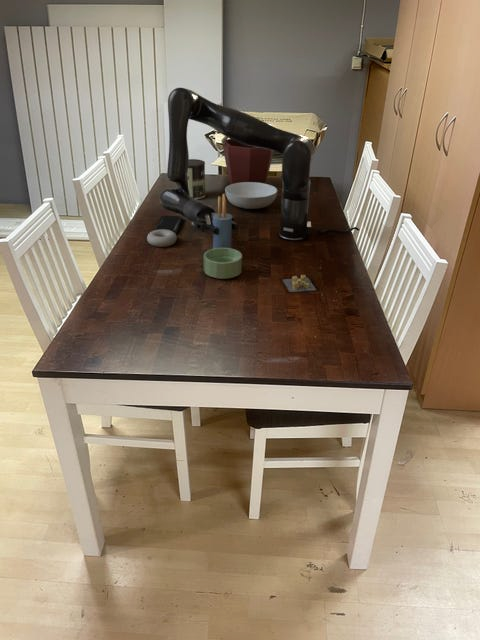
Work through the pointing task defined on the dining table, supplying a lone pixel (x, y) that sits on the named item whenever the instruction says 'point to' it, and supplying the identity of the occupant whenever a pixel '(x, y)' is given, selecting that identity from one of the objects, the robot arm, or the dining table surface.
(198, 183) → the coffee can
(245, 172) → the bucket
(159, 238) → the donut
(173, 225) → the phone
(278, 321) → the dining table surface
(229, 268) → the bowl
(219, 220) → the breadstick jar
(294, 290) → the carved rune cylinders
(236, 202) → the serving bowl
